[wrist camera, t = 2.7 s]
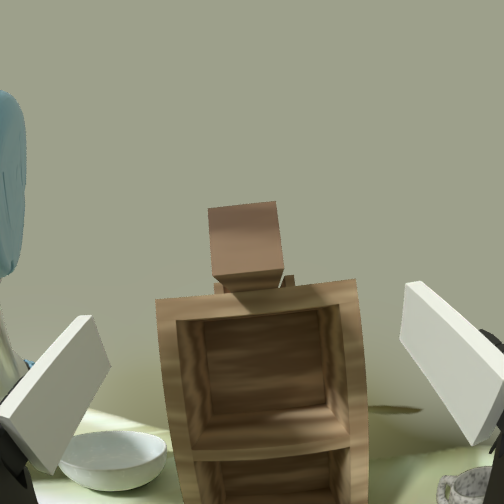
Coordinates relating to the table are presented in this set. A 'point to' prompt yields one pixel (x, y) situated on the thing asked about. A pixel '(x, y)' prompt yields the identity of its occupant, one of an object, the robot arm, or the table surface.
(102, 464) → the serving bowl
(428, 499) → the table surface
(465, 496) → the mug
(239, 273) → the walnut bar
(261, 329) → the oak stand
